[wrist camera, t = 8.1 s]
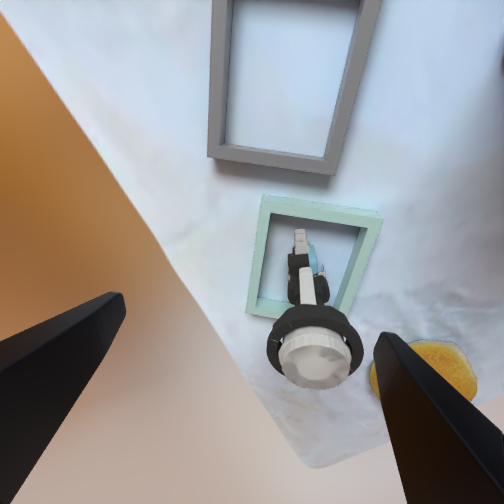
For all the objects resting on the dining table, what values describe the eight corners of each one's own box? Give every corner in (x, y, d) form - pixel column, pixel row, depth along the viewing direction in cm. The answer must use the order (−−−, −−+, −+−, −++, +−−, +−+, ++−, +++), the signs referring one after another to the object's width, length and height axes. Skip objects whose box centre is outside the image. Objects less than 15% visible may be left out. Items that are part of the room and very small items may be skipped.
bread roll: (353, 357, 27) (361, 393, 24) (445, 323, 24) (472, 360, 21) (389, 402, 30) (402, 441, 26) (477, 377, 27) (506, 418, 23)
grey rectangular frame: (386, -39, 14) (396, -55, 12) (331, 170, 19) (334, 175, 18) (221, -56, 14) (214, -73, 13) (212, 153, 19) (207, 157, 18)
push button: (267, 230, 22) (251, 314, 13) (335, 221, 21) (368, 306, 12) (279, 296, 25) (273, 400, 16) (339, 291, 24) (368, 399, 15)
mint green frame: (377, 211, 20) (383, 219, 18) (338, 318, 25) (341, 330, 24) (262, 194, 20) (261, 200, 19) (247, 302, 25) (245, 313, 24)
